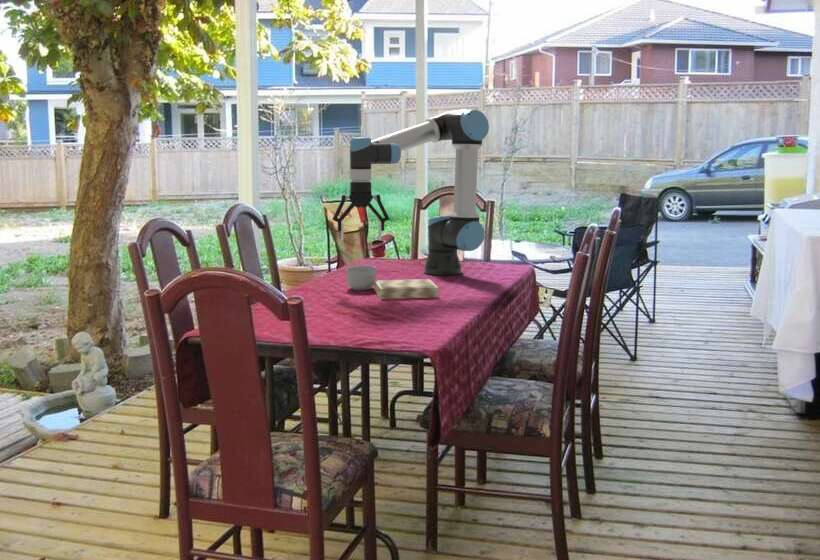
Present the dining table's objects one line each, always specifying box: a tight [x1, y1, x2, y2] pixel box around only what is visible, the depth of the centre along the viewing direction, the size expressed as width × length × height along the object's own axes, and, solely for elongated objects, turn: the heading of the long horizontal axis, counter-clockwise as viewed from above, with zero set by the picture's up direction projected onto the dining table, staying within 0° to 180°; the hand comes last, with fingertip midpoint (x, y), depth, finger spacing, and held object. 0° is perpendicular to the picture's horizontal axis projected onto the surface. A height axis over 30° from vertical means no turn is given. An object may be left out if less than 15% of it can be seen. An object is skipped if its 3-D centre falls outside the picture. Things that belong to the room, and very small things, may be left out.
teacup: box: [345, 264, 377, 291], centre depth 321 cm, size 14×11×8 cm
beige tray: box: [374, 278, 439, 300], centre depth 309 cm, size 20×18×4 cm
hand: (361, 240), depth 318 cm, fingers open, 13 cm apart
